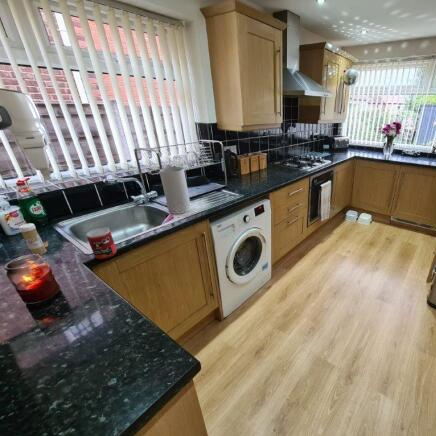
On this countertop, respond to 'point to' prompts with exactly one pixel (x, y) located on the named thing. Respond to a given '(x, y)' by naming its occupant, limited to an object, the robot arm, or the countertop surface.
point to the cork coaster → (45, 244)
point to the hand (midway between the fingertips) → (48, 177)
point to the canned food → (101, 243)
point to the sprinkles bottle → (32, 238)
